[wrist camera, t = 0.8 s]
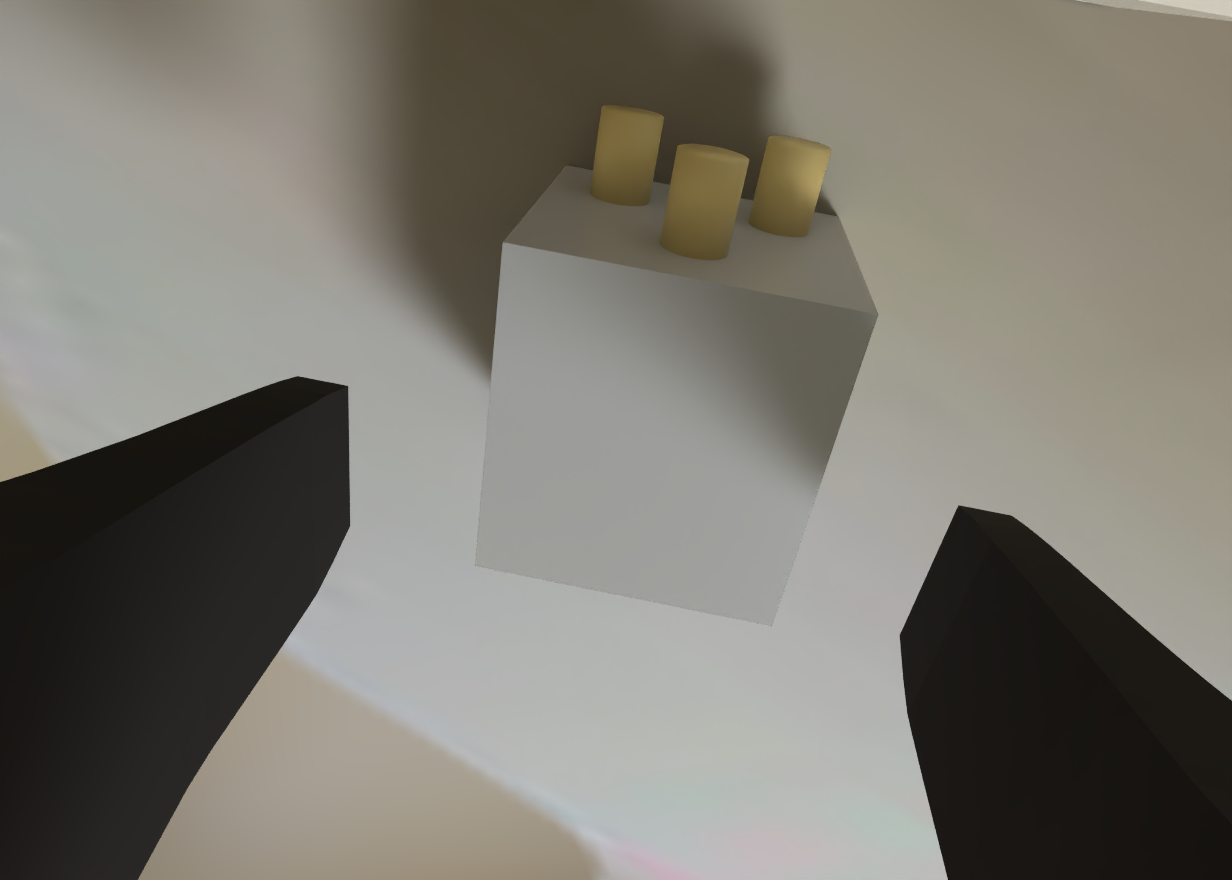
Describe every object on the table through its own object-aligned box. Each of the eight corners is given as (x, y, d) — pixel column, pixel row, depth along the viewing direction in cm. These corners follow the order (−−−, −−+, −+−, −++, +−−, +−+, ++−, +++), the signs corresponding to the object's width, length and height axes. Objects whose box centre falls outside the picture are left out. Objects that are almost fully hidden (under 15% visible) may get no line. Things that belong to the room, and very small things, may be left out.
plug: (860, 139, 13) (912, 213, 9) (763, 469, 16) (772, 626, 12) (576, 85, 13) (511, 137, 9) (535, 424, 16) (474, 565, 12)
